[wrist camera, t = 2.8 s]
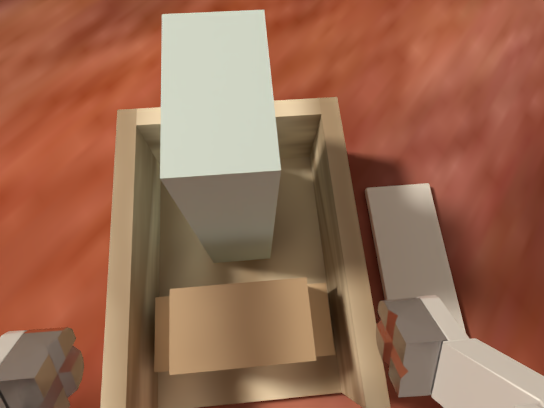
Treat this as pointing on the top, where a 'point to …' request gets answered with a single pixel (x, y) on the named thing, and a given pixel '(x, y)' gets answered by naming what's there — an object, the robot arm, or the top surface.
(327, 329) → the block
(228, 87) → the pale green block
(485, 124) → the top surface
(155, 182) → the tray
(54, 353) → the robot arm
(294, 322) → the offcut short
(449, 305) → the felt pad
